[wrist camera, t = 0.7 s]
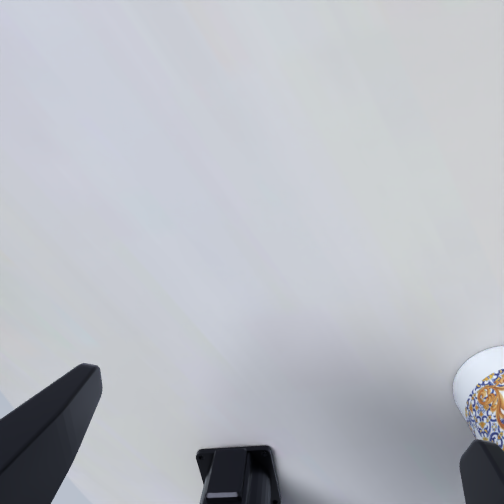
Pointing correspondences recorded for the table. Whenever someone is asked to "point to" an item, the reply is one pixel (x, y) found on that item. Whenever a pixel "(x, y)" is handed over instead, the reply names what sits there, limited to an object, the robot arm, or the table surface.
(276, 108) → the table surface
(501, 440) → the bath foam
